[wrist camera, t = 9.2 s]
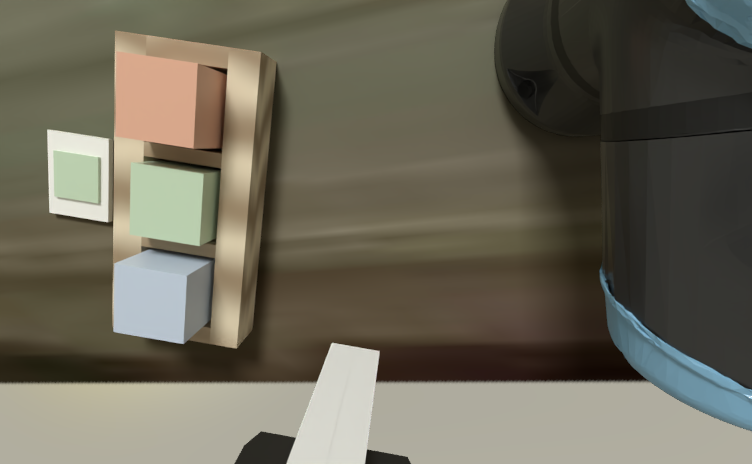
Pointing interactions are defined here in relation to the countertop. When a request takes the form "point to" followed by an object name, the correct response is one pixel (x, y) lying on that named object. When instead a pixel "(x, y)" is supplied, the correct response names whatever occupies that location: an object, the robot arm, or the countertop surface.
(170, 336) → the slate key
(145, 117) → the terracotta key
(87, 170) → the card
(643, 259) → the robot arm
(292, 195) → the countertop surface
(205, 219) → the sage key
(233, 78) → the key panel
